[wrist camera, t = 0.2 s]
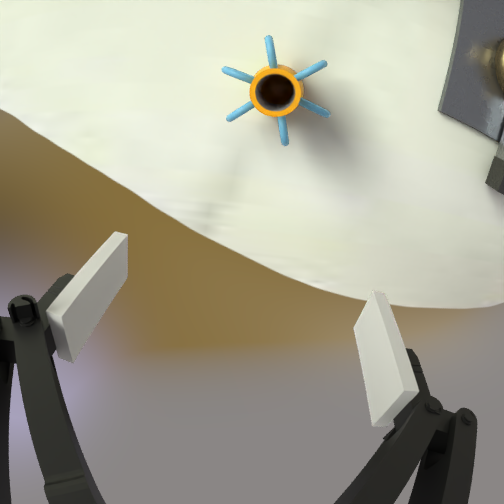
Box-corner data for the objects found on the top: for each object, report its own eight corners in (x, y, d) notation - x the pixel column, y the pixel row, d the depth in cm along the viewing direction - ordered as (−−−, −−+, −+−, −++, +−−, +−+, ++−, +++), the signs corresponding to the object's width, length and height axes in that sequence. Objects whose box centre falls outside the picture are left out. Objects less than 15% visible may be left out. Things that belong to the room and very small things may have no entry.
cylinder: (340, 74, 34) (372, 71, 21) (304, 145, 39) (316, 179, 26) (248, 34, 33) (229, 8, 20) (215, 107, 38) (180, 121, 25)
